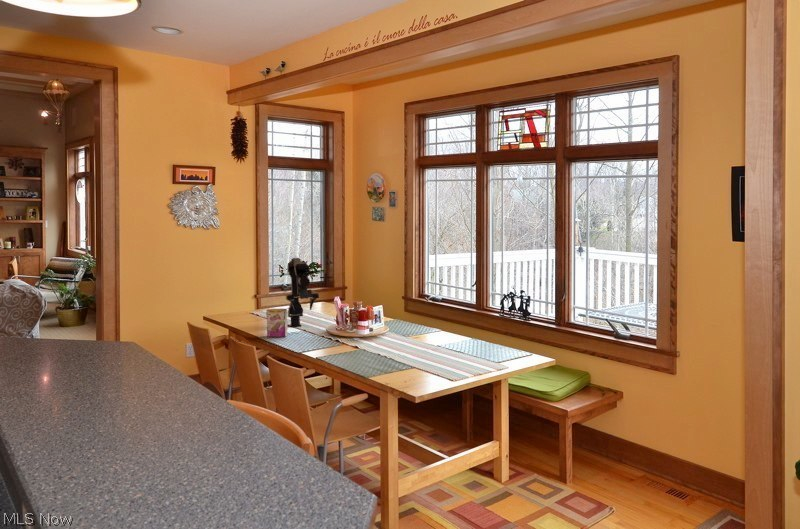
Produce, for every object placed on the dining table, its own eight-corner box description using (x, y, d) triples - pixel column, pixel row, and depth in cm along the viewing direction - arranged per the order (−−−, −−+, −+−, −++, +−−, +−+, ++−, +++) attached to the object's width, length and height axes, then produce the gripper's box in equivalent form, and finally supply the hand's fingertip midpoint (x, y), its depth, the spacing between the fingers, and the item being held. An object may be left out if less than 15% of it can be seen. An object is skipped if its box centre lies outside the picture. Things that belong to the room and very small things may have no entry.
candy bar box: (267, 337, 377) (265, 309, 375) (269, 335, 382) (268, 308, 380) (285, 337, 376) (284, 309, 374) (288, 335, 381) (287, 308, 379)
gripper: (288, 287, 367) (289, 314, 369) (320, 285, 373) (321, 311, 375) (285, 284, 378) (286, 311, 380) (316, 282, 384) (317, 308, 386)
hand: (302, 310), depth 380 cm, fingers open, 9 cm apart
